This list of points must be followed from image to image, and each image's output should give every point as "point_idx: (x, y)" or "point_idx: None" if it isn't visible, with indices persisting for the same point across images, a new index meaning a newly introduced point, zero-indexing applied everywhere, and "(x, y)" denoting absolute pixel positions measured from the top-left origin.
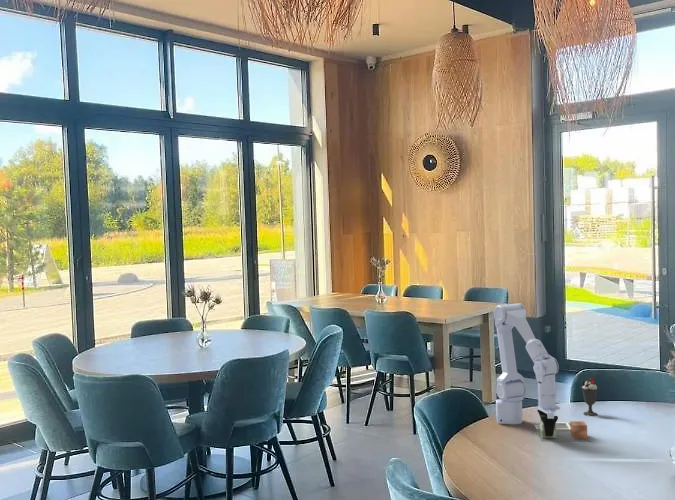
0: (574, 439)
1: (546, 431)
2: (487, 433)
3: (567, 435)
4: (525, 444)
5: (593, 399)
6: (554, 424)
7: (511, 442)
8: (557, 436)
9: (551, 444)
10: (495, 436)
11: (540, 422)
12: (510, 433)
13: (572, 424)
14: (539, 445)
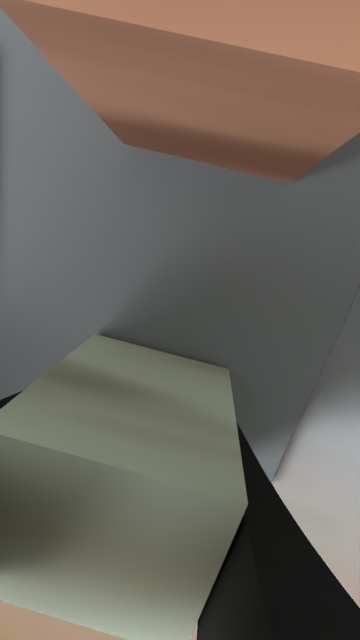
0: (323, 181)
1: None
2: (11, 635)
3: (156, 204)
4: None
5: None
6: (355, 613)
7: None
8: (170, 328)
9: (301, 428)
10: (63, 628)
11: (50, 606)
12: None
13: (326, 59)
14: (292, 511)
